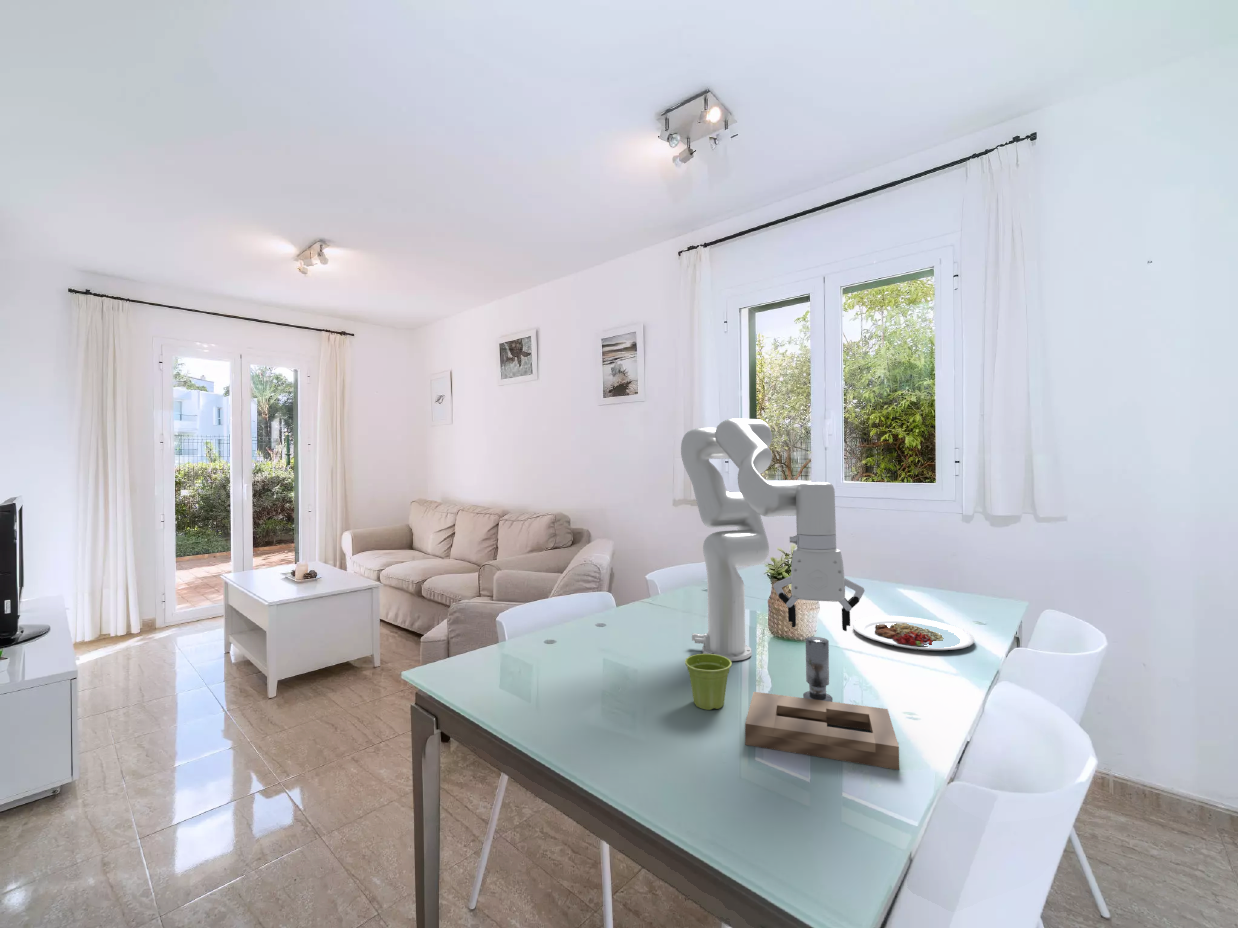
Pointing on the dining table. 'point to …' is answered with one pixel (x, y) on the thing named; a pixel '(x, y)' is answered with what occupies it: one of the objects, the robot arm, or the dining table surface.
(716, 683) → the plant pot
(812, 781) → the dining table surface
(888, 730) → the keyhole plate
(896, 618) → the plated food
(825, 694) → the peg
